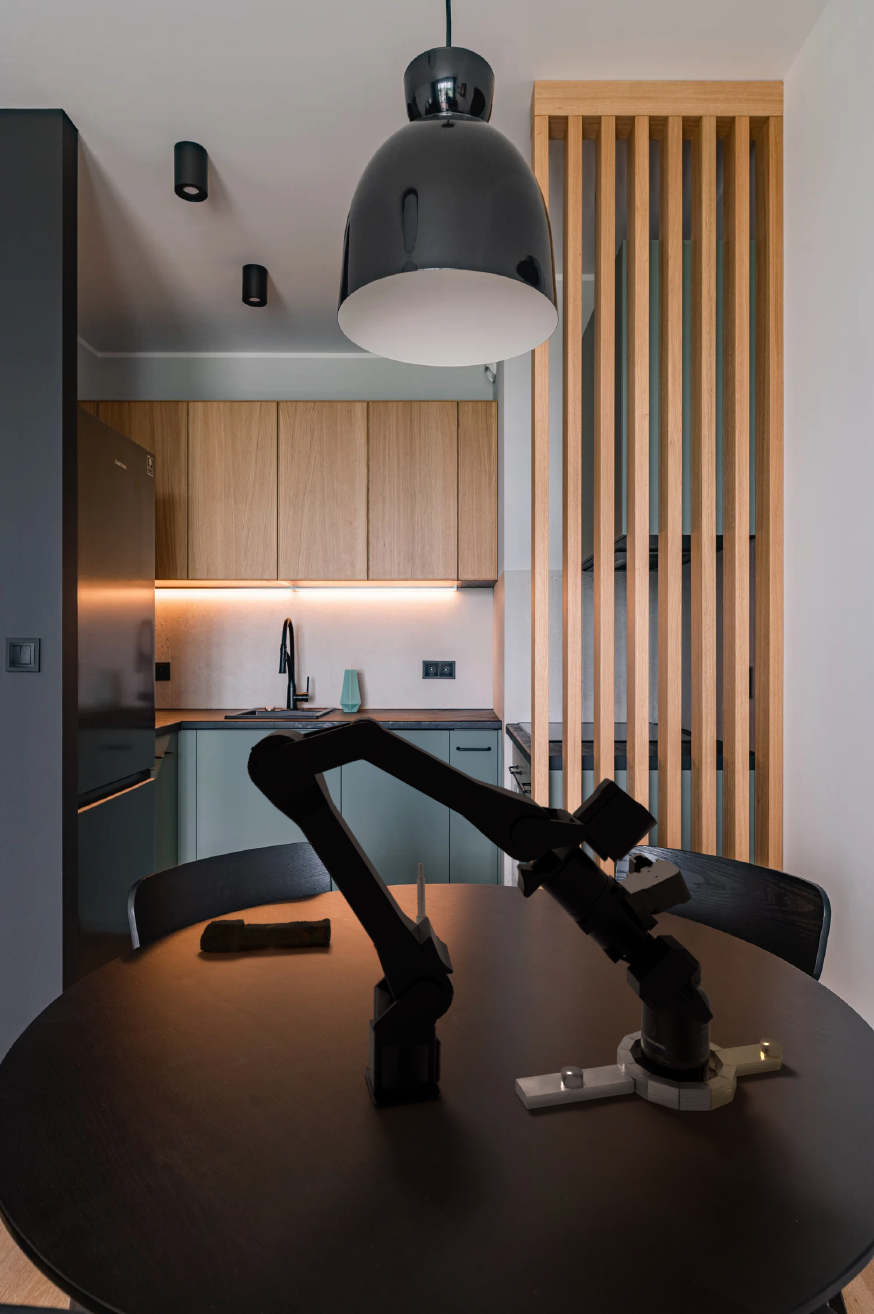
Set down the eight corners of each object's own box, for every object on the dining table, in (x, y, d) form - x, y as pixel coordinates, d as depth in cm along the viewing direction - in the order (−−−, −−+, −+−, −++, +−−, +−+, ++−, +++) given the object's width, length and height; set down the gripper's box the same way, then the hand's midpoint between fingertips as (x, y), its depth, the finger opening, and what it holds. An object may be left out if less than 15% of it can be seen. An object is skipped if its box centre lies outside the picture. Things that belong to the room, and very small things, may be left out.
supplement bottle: (634, 1085, 73) (635, 967, 73) (646, 1052, 79) (647, 943, 79) (706, 1104, 70) (707, 980, 70) (713, 1068, 76) (713, 955, 76)
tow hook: (362, 947, 109) (407, 961, 103) (360, 861, 110) (405, 870, 104) (400, 932, 115) (444, 944, 109) (398, 851, 116) (442, 858, 110)
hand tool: (330, 940, 111) (331, 910, 111) (331, 950, 107) (331, 919, 107) (203, 946, 108) (204, 915, 108) (198, 957, 104) (199, 924, 104)
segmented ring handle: (545, 1138, 65) (545, 1116, 65) (500, 1067, 76) (500, 1048, 76) (713, 1110, 69) (713, 1089, 69) (647, 1047, 80) (647, 1029, 80)
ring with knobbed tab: (708, 1111, 69) (708, 1090, 69) (643, 1047, 80) (643, 1029, 80) (821, 1092, 72) (821, 1072, 72) (743, 1033, 84) (743, 1016, 84)
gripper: (678, 862, 65) (793, 981, 66) (611, 818, 84) (702, 911, 85) (592, 951, 65) (710, 1070, 65) (544, 886, 83) (636, 980, 84)
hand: (689, 998), depth 75 cm, fingers open, 9 cm apart
